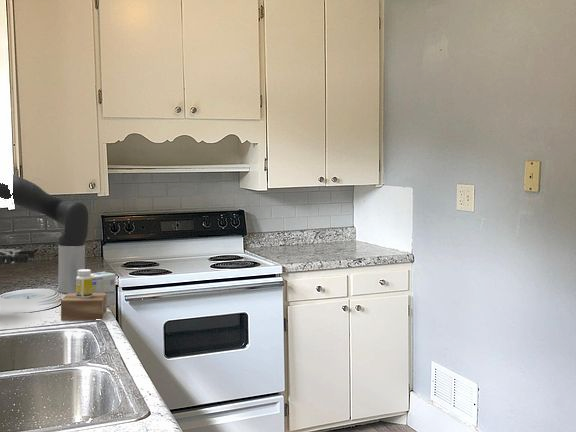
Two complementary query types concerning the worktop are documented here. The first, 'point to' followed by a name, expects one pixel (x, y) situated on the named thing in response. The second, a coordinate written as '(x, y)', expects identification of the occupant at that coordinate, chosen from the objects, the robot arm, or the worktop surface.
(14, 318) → the worktop surface
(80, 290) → the supplement bottle
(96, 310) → the walnut block
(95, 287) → the light bulb box
